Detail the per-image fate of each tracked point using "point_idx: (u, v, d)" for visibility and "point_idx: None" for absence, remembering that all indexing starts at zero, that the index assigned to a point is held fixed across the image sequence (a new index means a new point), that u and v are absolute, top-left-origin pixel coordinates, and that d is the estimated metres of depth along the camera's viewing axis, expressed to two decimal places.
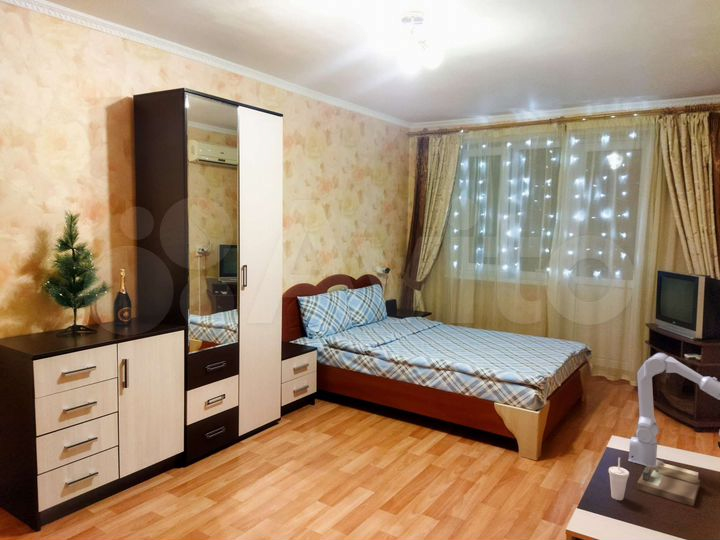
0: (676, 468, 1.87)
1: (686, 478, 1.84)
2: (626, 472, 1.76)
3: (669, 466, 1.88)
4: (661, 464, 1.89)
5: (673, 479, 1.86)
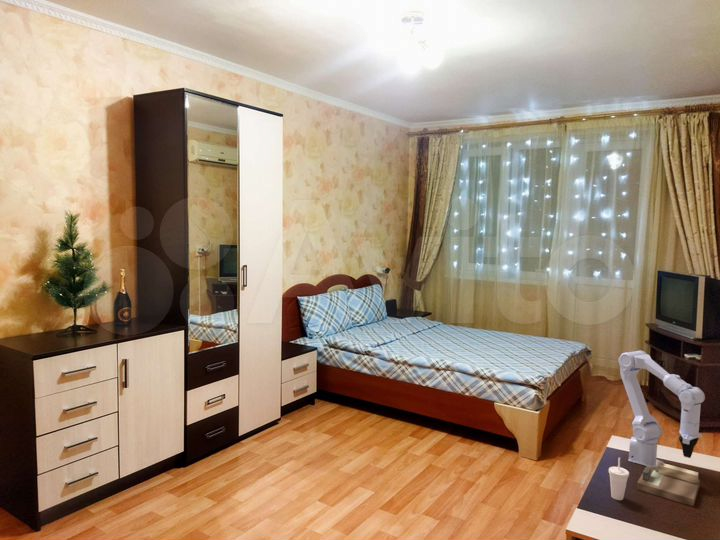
0: (676, 468, 1.87)
1: (686, 478, 1.84)
2: (626, 472, 1.76)
3: (669, 466, 1.88)
4: (661, 464, 1.89)
5: (673, 479, 1.86)
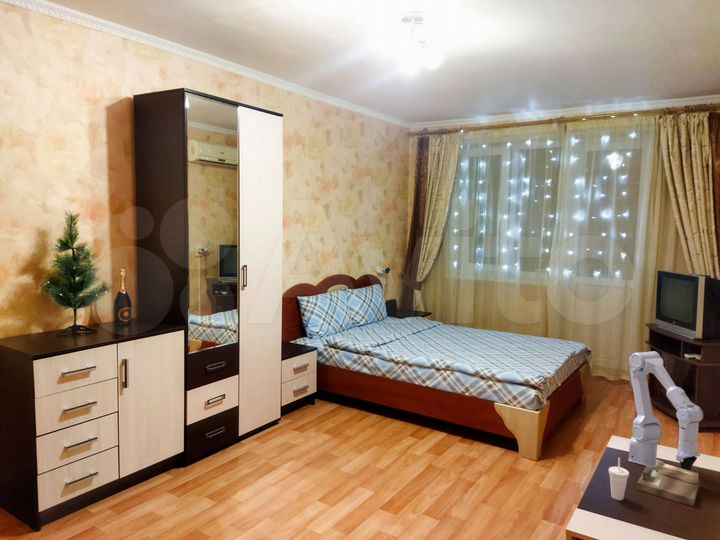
0: (676, 469, 1.86)
1: (686, 478, 1.84)
2: (626, 472, 1.76)
3: (669, 467, 1.88)
4: (661, 464, 1.89)
5: (673, 479, 1.86)
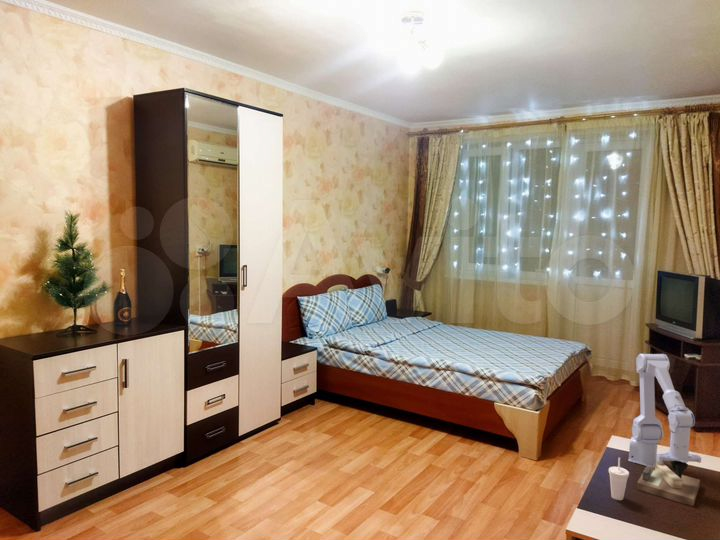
0: (666, 470, 1.85)
1: (668, 481, 1.82)
2: (626, 472, 1.76)
3: (663, 468, 1.87)
4: (658, 463, 1.90)
5: None
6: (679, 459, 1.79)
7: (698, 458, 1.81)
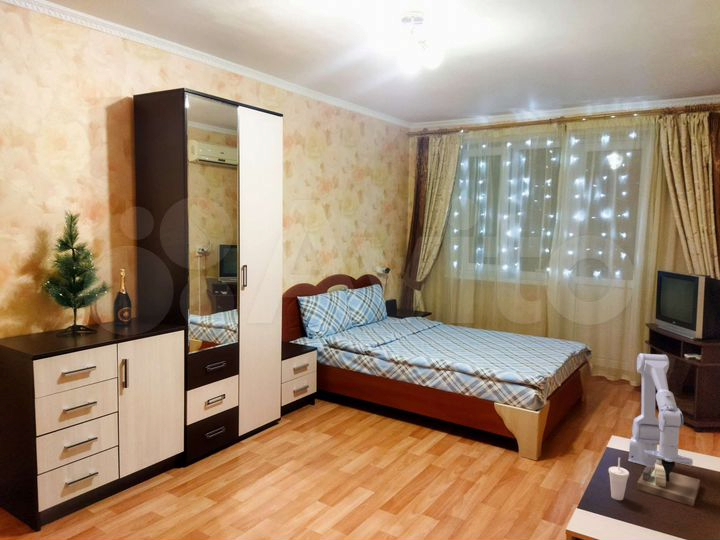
0: (658, 469, 1.86)
1: (655, 478, 1.84)
2: (626, 472, 1.76)
3: (658, 467, 1.88)
4: (656, 463, 1.90)
5: (673, 479, 1.86)
6: (664, 458, 1.80)
7: (689, 461, 1.78)
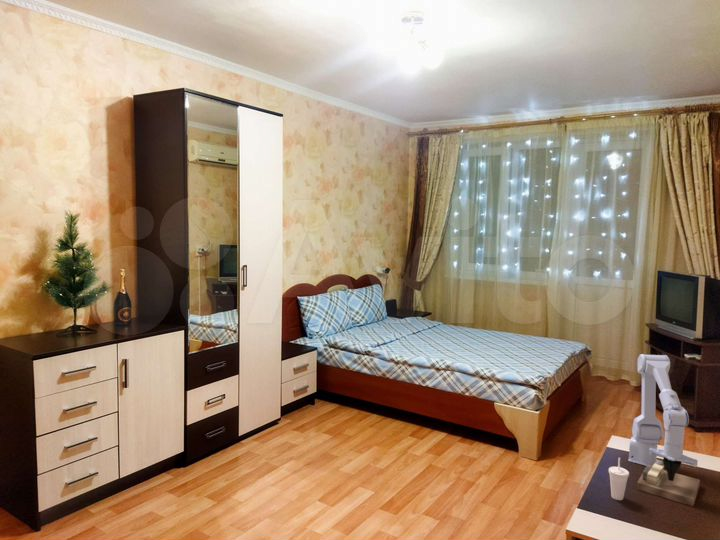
0: (654, 468, 1.87)
1: None
2: (626, 472, 1.76)
3: (656, 466, 1.88)
4: (656, 462, 1.91)
5: None
6: (667, 456, 1.79)
7: (693, 462, 1.76)
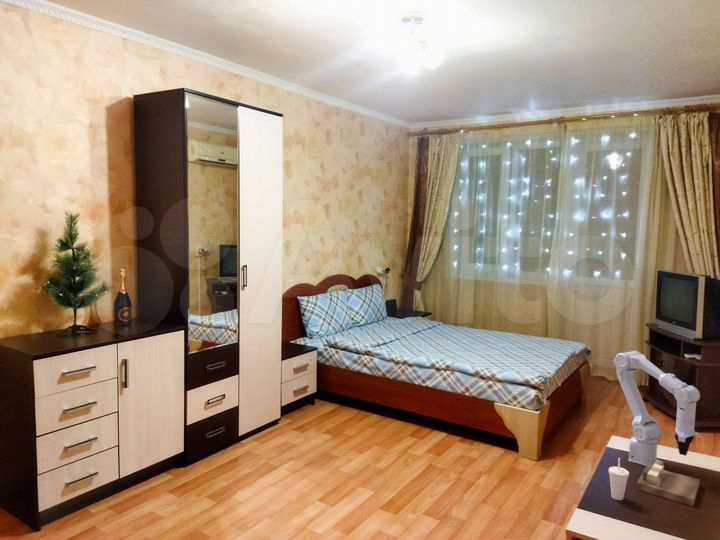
0: (654, 468, 1.87)
1: None
2: (626, 472, 1.76)
3: (656, 466, 1.88)
4: (656, 462, 1.91)
5: (673, 479, 1.86)
6: (693, 433, 1.87)
7: None
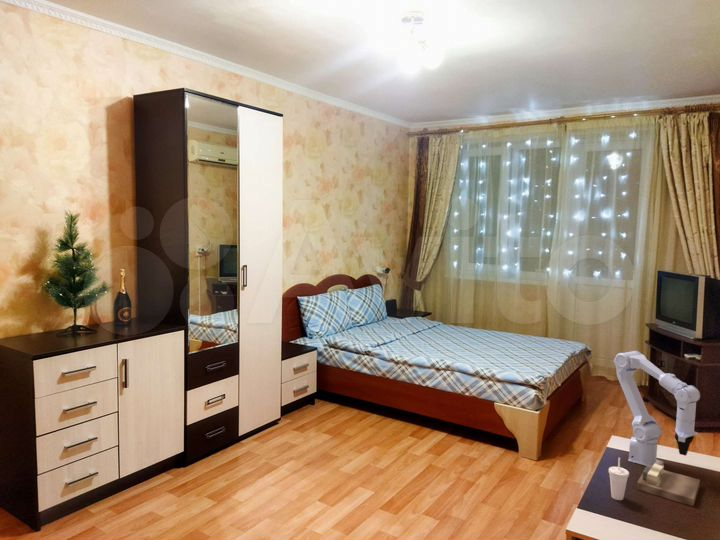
0: (654, 468, 1.87)
1: None
2: (626, 472, 1.76)
3: (656, 466, 1.88)
4: (656, 462, 1.91)
5: (673, 479, 1.86)
6: (693, 433, 1.87)
7: None
